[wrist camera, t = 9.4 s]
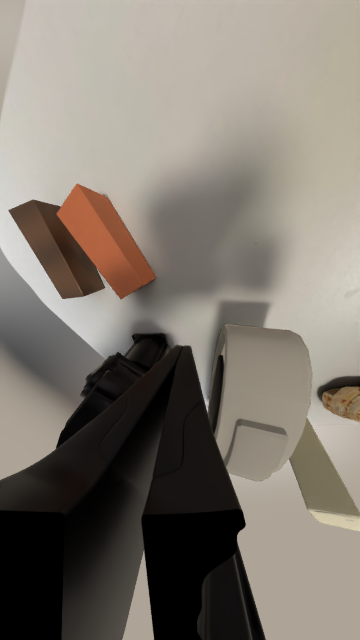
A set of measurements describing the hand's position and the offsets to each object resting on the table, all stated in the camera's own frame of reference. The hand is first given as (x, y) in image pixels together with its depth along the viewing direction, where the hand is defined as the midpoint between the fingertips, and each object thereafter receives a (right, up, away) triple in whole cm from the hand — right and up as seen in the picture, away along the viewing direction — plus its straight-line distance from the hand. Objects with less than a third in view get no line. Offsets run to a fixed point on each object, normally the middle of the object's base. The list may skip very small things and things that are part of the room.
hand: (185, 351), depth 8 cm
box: (+19, -13, +17) cm, 28 cm away
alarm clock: (+9, -6, +16) cm, 19 cm away
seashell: (+27, -10, +13) cm, 32 cm away
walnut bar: (-15, +11, +12) cm, 22 cm away
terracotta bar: (-8, +11, +10) cm, 17 cm away
